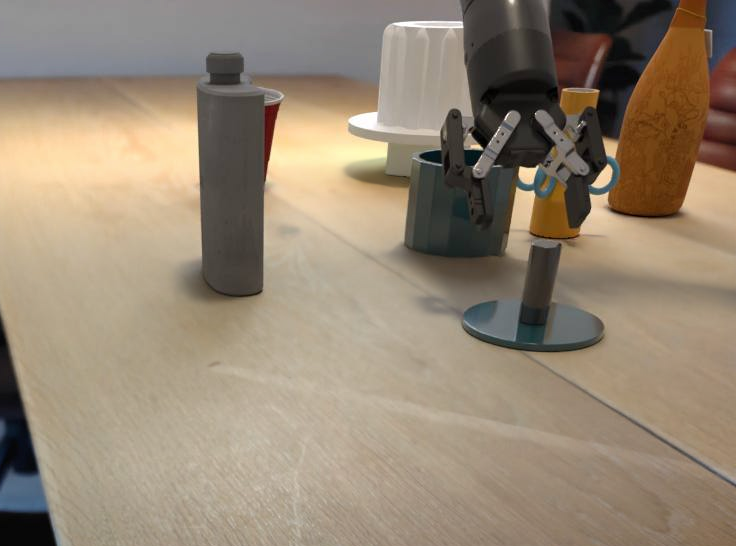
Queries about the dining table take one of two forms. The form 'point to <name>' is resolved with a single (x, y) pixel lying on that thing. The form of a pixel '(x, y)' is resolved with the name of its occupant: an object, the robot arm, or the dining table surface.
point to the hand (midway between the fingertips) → (532, 225)
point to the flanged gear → (416, 90)
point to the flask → (231, 175)
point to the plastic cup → (270, 122)
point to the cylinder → (548, 190)
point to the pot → (455, 209)
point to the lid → (535, 312)
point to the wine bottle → (665, 119)
